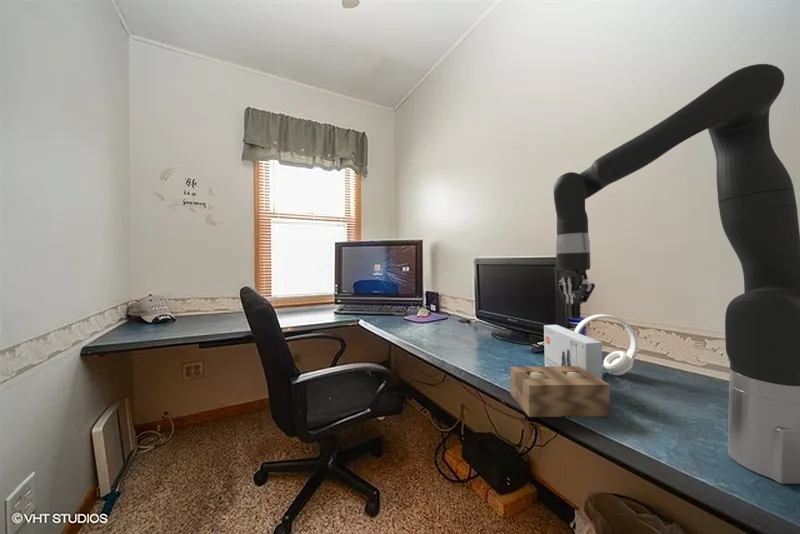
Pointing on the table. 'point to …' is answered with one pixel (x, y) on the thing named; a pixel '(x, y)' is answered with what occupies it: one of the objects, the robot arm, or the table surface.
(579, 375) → the dowel
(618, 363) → the headphones
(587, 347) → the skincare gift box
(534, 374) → the dowel
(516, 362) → the table surface
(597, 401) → the socket board
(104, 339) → the table surface
